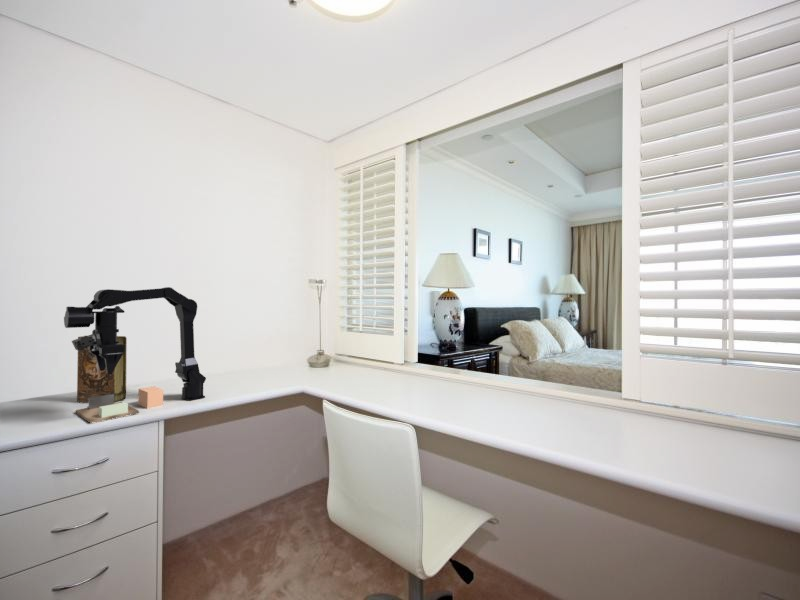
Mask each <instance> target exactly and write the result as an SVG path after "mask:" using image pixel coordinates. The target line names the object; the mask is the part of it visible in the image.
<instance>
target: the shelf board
mask: <svg viewBox="0 0 800 600" xmlns="http://www.w3.org/2000/svg"><path fill="white" fill-rule="evenodd" d="M123 402H124V401H117V402H114V404H118V403H123ZM76 413H77V416H79V417H80V416H81V417H80V418H82V419H83V418H84V419H85V420H84V421H86V420H87V421H88V422H90V423H91V424H93V423H92V422H96V421H101V422H103V421H102V420H106V421H108V420H107V419H111V420H113V419H112V418H115V419H117V418H116V417H120V418H122V417H121V416H125V417H127V416H126V415H130V414H135V413H140V410H138V409H136V408H135V407H133V406H130V405H129V404H128V413H123V414H118V415H113V416H108V417H103V418H101V417H100V416H99V408H95V409H88V408H87V407H86V408H84V407H83V408H80V409H75V414H76ZM135 415H136V414H135ZM130 416H131V415H130ZM87 421H86V422H87ZM88 422H87V423H88ZM90 423H89V424H90ZM96 423H97V422H96Z"/></svg>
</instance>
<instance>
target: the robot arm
mask: <svg viewBox="0 0 800 600" xmlns="http://www.w3.org/2000/svg"><path fill="white" fill-rule="evenodd" d="M154 299H165V300H166V301H167V302H168V303H169V304H170V305H172V307H174V310H175V314H176V317H177V319H178V321H179V332H180V333H179V334H180V335H179V336H180V340H179V341H180V358H179V361H177V362H175V371H174V373H175V374H177V377H179V378H180V379H181V380H182V383H183V387H182V388H181V399H183V400H185V401H193V400H194V401H195V400H198V399H203V398H206V396H205V395H204V383H205V382H206V380H207V377H205V375H203V374H202V373H201V372H200V369H199V368H200V367H199V364H198V361H197V360H196V357H195V336H194V332H195V331H194V329H195V328H194V322H195V321H194V320H195V318H196V315H197V312H198V311H197V310H198V304H197V301H195V300H194V299H191V298H188V297H186V296H185V295H183V294H182V293H180V292H178V291H177V290H175V289H174V288H173V287H169V286H167V287H166V286H165V287H161V288H149V289H137V290H122V289H107V288H106V289H100V290H98V291H96V292H95V293H94V295H93V300H91V301H90V302H89V304H87V306H78V307H77V306H66V307H65V308H66V309H65V314H64V316H63V323H64V328H66V329H72V328H73V329H74V328H76V329H77V328H90V326H91V325H93V324H94V327H95V328H94V329H93V330H92V333H91V334H89V335H83V336H84V337H81V336H79V337H80V338H79V339H78V338H76V339H73V340H71V343H72V345H73V347H74V350H76V351H77V352H78V351H79V350H83V349H84V348H87V347H88V350H92V351H89V352H91V353H92V354H94V355H95V357H96V360H97V363H98V366H99V370H100V371H104V369H105V367H106V369H107V374H112V373H113V371H114V369H115V367H116V365H117V364H118V362H119V360H120V358H121V357H122V355H123V354H124V353H123V352H125V346H124V345H123V344H120V343H119V341H117V336H118V333H119V332H120V329H119V328H118V314H123V313H126V312H125V310H124V309H122V308H121V306H119V305H121V304H125V303H128V302H135V301H143V300H144V301H146V300H154ZM105 307H107V308H105ZM108 307H109V308H108ZM112 307H113V308H112ZM93 310H94V311H93ZM96 310H99V311H96ZM100 310H102V311H100Z"/></svg>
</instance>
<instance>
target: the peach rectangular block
mask: <svg viewBox="0 0 800 600" xmlns="http://www.w3.org/2000/svg"><path fill="white" fill-rule="evenodd" d="M138 405H139V406H142V407H143V406H144V407H143V408H145V407H146V408H145V409H147V408H149V409H152V408H151V407H154V408H157V407H156V406H159V407H162V406H161V405H163V406H164V389H163V388H160V387H156V386H148V387H141V388H138Z"/></svg>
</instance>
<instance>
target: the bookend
mask: <svg viewBox="0 0 800 600" xmlns="http://www.w3.org/2000/svg"><path fill="white" fill-rule="evenodd" d="M114 403H115V402H114V394H108V395H102V396H96V397H89V403H88V406H87V407H86V408H88V409H95V408H99V407H101V406H107V405H112V404H114Z"/></svg>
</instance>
